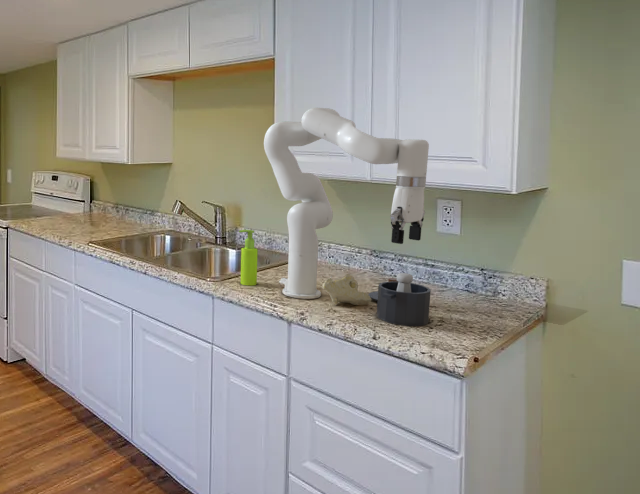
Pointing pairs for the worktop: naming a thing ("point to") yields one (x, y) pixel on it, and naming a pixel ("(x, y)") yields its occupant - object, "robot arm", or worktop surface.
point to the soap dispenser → (249, 261)
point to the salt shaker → (404, 282)
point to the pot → (403, 304)
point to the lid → (375, 294)
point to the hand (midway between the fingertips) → (405, 241)
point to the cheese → (345, 291)
